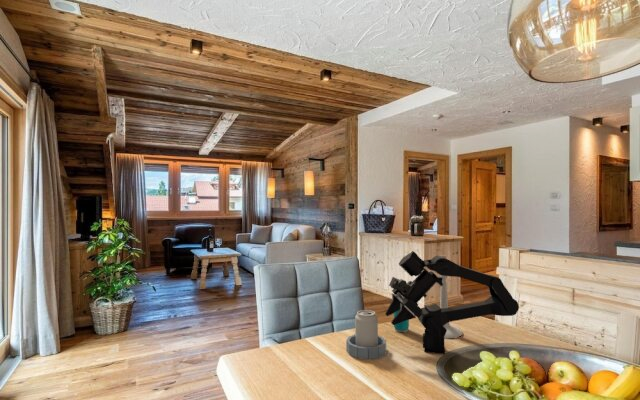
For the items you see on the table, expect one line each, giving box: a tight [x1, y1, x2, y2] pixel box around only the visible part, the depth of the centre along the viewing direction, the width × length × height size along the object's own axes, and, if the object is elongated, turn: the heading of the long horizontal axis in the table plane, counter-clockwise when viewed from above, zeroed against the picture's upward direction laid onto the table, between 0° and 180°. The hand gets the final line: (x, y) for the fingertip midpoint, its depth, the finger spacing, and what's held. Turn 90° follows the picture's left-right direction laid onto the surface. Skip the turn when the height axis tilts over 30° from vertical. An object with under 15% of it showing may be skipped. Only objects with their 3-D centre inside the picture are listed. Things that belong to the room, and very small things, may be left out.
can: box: [354, 309, 379, 347], centre depth 118 cm, size 8×8×12 cm
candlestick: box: [439, 254, 463, 339], centre depth 135 cm, size 13×13×30 cm
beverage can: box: [393, 310, 410, 333], centre depth 138 cm, size 6×6×15 cm
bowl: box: [345, 334, 387, 361], centre depth 118 cm, size 13×13×4 cm
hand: (389, 319), depth 119 cm, fingers open, 9 cm apart
